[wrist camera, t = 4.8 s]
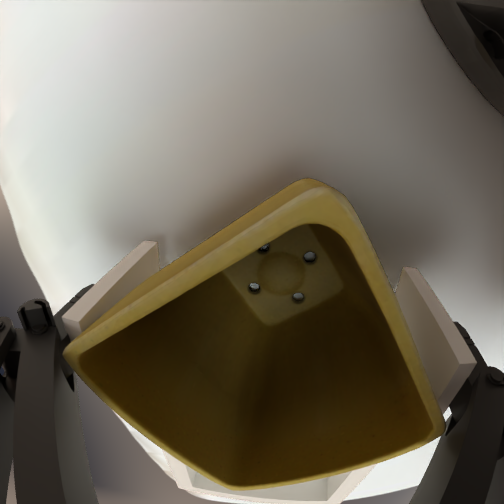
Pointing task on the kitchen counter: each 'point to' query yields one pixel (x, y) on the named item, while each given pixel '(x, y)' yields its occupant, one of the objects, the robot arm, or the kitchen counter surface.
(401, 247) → the kitchen counter surface
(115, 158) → the kitchen counter surface
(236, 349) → the flower pot
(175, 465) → the white square tray
